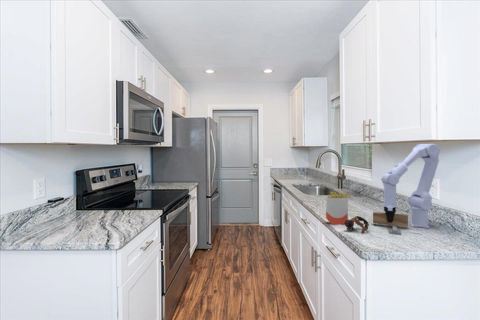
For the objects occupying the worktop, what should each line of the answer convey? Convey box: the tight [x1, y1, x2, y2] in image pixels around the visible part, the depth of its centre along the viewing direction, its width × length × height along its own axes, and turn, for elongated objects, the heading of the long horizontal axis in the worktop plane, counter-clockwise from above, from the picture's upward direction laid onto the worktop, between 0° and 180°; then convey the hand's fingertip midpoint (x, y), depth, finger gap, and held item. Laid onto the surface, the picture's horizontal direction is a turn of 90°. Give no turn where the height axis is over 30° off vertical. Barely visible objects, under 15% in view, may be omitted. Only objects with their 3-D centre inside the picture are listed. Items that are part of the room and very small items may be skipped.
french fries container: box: [325, 191, 349, 226], centre depth 145 cm, size 5×11×18 cm, turn 84°
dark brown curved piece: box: [344, 215, 369, 234], centre depth 132 cm, size 12×10×8 cm
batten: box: [372, 211, 409, 228], centre depth 137 cm, size 4×16×6 cm, turn 61°
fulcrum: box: [388, 225, 402, 236], centre depth 128 cm, size 7×5×2 cm
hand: (389, 221), depth 137 cm, fingers closed on batten, 3 cm apart
